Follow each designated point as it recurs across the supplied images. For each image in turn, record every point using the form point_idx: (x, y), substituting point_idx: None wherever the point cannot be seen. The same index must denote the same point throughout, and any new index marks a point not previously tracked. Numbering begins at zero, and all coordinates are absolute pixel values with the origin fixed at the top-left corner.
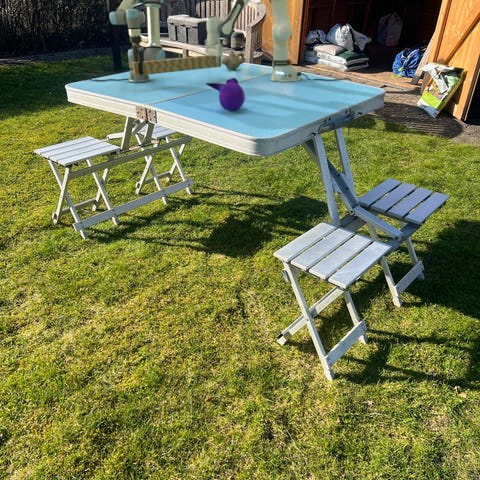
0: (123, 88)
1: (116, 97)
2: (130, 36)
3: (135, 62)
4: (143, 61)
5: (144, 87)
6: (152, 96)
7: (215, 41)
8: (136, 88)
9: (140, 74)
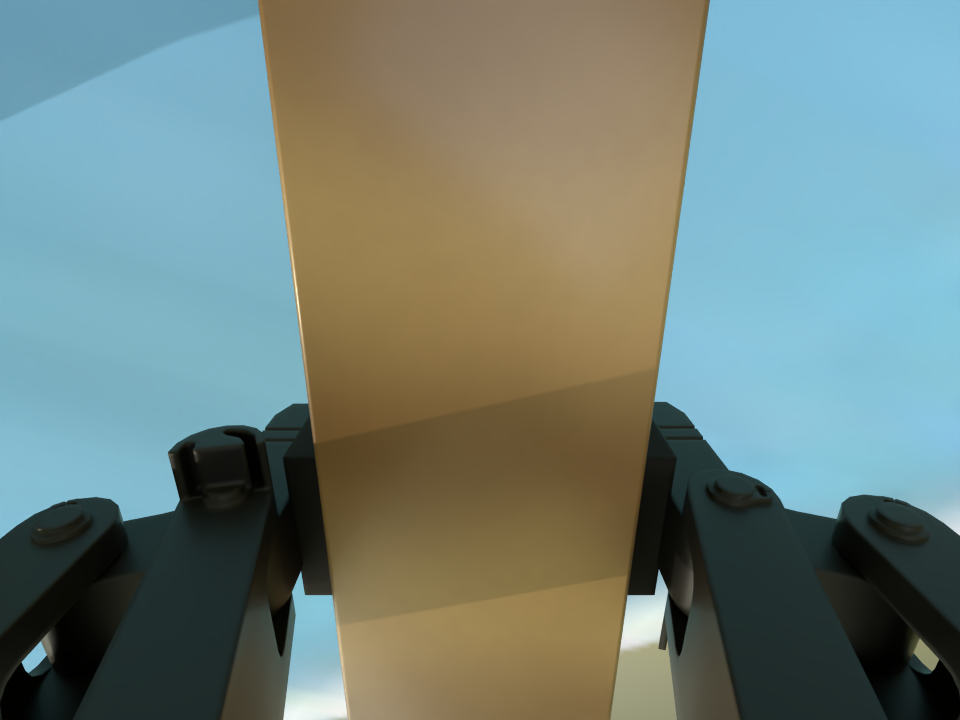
0: (155, 424)
1: None
2: None
3: (469, 677)
4: (390, 326)
5: (205, 151)
6: (860, 261)
7: None
8: (228, 282)
9: None
